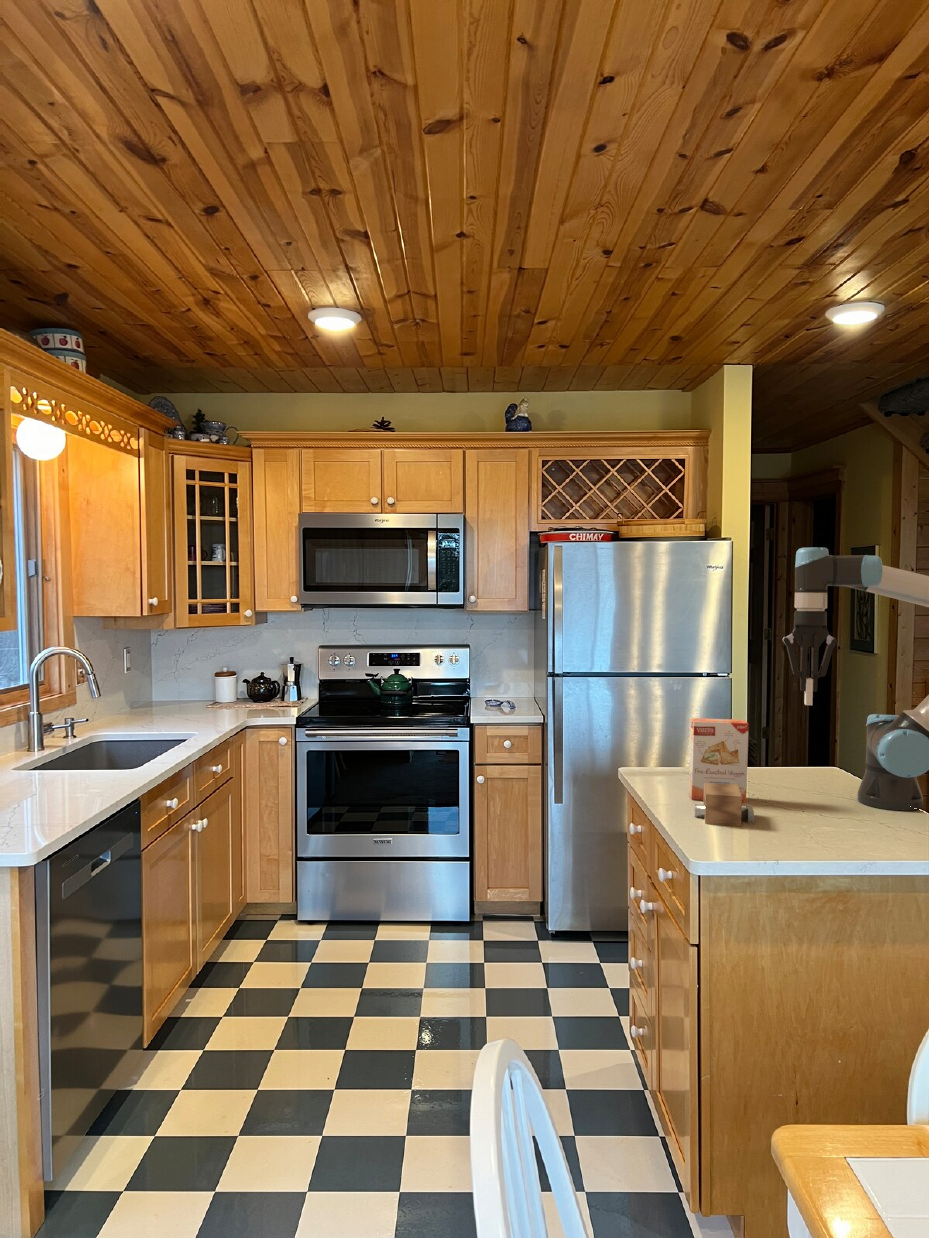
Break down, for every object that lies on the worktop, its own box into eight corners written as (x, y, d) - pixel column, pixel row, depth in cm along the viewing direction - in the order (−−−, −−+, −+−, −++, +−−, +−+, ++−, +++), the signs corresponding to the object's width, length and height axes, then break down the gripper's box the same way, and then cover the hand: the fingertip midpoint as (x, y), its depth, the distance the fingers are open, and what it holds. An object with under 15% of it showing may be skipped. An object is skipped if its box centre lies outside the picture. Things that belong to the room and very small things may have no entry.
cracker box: (691, 800, 218) (693, 720, 217) (688, 795, 224) (689, 717, 223) (747, 802, 216) (749, 722, 215) (742, 797, 222) (744, 718, 221)
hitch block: (737, 812, 206) (737, 784, 206) (741, 826, 195) (741, 796, 194) (703, 810, 208) (703, 782, 208) (705, 823, 196) (705, 794, 196)
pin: (750, 817, 203) (751, 804, 203) (753, 823, 197) (753, 811, 197) (694, 813, 206) (694, 801, 206) (695, 819, 200) (695, 807, 200)
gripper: (835, 609, 210) (833, 703, 211) (780, 609, 213) (778, 701, 214) (841, 610, 203) (839, 707, 204) (784, 609, 206) (782, 705, 207)
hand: (808, 704), depth 209 cm, fingers closed
